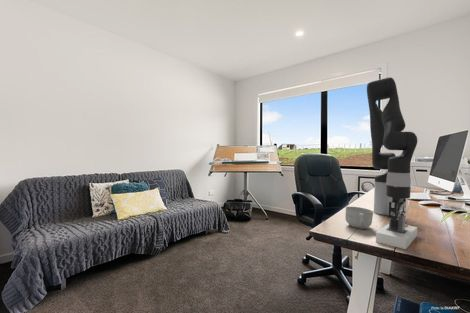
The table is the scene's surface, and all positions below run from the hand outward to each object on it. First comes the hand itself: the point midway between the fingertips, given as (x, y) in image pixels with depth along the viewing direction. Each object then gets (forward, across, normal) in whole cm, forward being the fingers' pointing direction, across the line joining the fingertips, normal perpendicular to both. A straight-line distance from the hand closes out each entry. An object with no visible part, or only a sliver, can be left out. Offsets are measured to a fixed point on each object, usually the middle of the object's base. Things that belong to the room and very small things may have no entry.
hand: (396, 227), depth 89 cm
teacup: (+5, -4, -15) cm, 16 cm away
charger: (+5, 0, 0) cm, 5 cm away
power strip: (+5, -1, 0) cm, 5 cm away
